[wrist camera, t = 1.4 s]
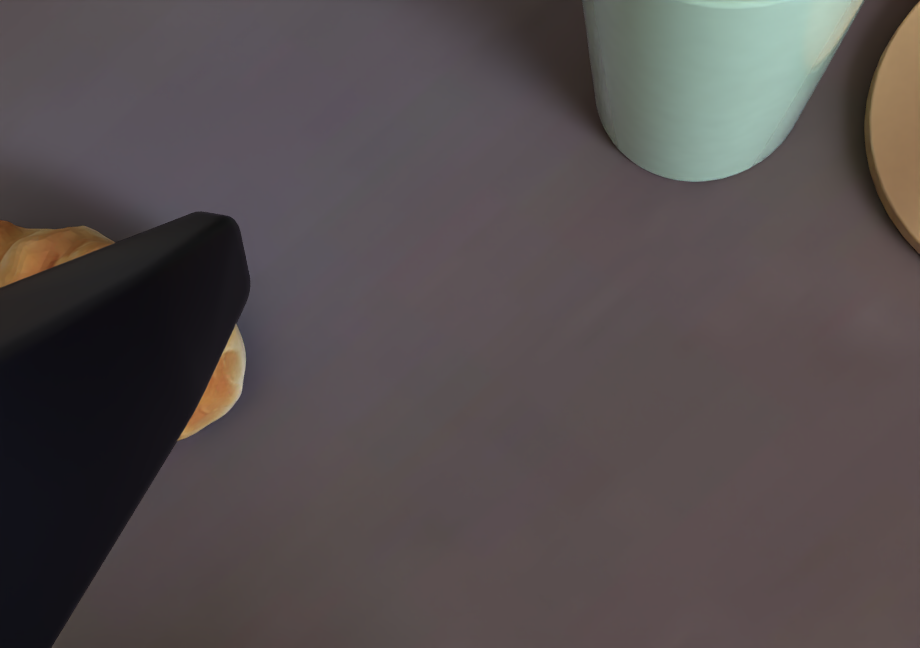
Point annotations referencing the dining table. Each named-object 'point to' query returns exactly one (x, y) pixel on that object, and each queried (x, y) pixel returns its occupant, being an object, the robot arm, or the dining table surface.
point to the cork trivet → (897, 128)
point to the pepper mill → (708, 77)
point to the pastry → (34, 250)
